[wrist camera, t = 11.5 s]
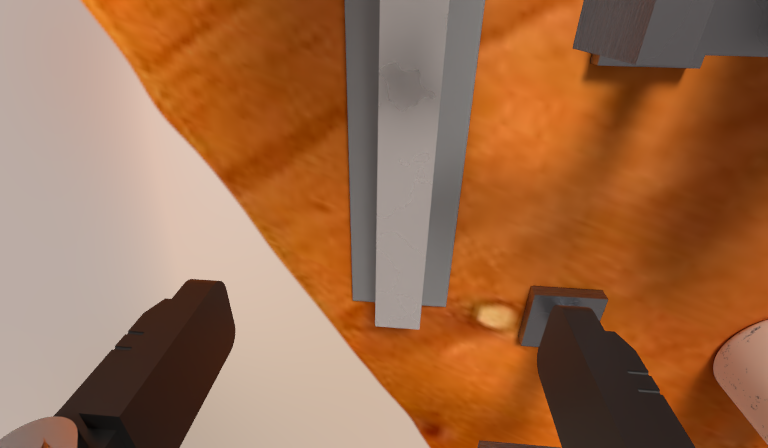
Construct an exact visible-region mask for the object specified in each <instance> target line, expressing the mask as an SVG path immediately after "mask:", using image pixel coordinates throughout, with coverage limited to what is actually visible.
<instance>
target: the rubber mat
mask: <svg viewBox="0 0 768 448" xmlns="http://www.w3.org/2000/svg"><path fill="white" fill-rule="evenodd" d="M484 5H485V0H450V1H449V12H448V22H447V33H446V44H445V55H444V66H443V77H442V88H441V99H440V110H439V120H438V131H437V142H436V153H435V164H434V175H433V186H432V197H431V208H430V218H429V229H428V240H427V251H426V262H425V273H424V284H423V295H422V305H426V306H441V307H446V302H447V294H448V286H449V278H450V270H451V263H452V255H453V247H454V239H455V231H456V224H457V216H458V208H459V200H460V192H461V185H462V177H463V169H464V161H465V153H466V146H467V138H468V130H469V122H470V114H471V107H472V99H473V91H474V83H475V75H476V68H477V60H478V52H479V44H480V36H481V29H482V21H483V13H484ZM379 27H380V0H345V34H346V70H347V106H348V143H349V179H350V215H351V251H352V288H353V301H367V302H375V300H376V231H377V163H378V95H379Z"/></svg>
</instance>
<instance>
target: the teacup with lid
mask: <svg viewBox="0 0 768 448" xmlns="http://www.w3.org/2000/svg"><path fill="white" fill-rule="evenodd" d="M713 372H714V376H715V378H716V380H717V382H718V383H719V385H720V386H721V387H722V388H723V390H724V391H725V392H726V393H727V395H728V396H729V397H730V398H731V400H732V401H733V402H734V403H735V405H736V406H737V407H738V408H739V410H740V411H741V412H742V413H743V415H744V416H745V417H746V418H747V420H748V421H749V422H750V423H751V425H752V426H753V427H754V428H755V430H756V431H757V432H758V433H759V435H760V436H761V437H762V438H763V440H764V441H765V442H766V443H767V445H768V320H765V321H762V322H759V323H757V324H754V325H752V326H750V327H748V328H746V329H744V330H742V331H741V332H739V333H737V334H736V335H735V336H733V337H732V338H731V339H729V340H728V341H727V342H726V343H725V344H724V345H723V346H722V348H721V349H720V350H719V352H718V353H717V355H716V357H715V360H714V364H713Z"/></svg>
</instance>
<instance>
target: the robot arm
mask: <svg viewBox="0 0 768 448" xmlns="http://www.w3.org/2000/svg"><path fill="white" fill-rule="evenodd" d="M234 339H235V324H234V320H233V316H232V311H231V307H230V303H229V299H228V295H227V290H226V287H225V284H224V283H223V282H222V281H211V280H196V279H190V280H188V281H186V282H185V284H184V285H183V286H182V287H181V288H180V290H179V291H178V292H177V293H176V294H175V296H174V297H173V298H172V299H164V300H162V301H161V302H159V303H158V304H157V305H155V306H154V307H152V308H151V309H149V310H148V311H146V312H145V313H143V315H142V316H141V317H140V318H139V319H138V320H137V321H136V323H135V324H134V325H133V326H132V327H131V329H130V330H129V331H128V334H127V335H125V336H123V338H122V339H121V340H120V341H119V342H118V343H117V344H116V346H115V349H114V350H111V351H110V352H109V354H108V355H107V356H106V357H105V358H104V360H103V361H102V362H101V363H100V364H99V365H98V366H97V367H96V369H95V370H94V371H93V372H92V373H91V374H90V375H89V377H88V378H87V379H86V380H85V381H84V382H83V384H82V385H81V386H80V387H79V388H78V389H77V390H76V392H75V393H74V394H73V395H72V396H71V397H70V398H69V400H68V401H67V402H66V403H65V404H64V405H63V406H62V408H61V409H60V410H59V411H58V412H57V413H56V414H55V415H54V416H53V417H46V418H42V419H38V420H35V421H32V422H30V423H27V424H25V425H23V426H21V427H19V428H17V429H15V430H14V431H12V432H11V433H9V434H7V435H6V436H4V437H3V438H2V439H0V448H179V447H180V445H181V444H182V442H183V440H184V438H185V436H186V434H187V432H188V431H189V429H190V426H191V425H192V423H193V421H194V419H195V417H196V415H197V414H198V412H199V410H200V408H201V406H202V404H203V402H204V400H205V398H206V397H207V395H208V393H209V391H210V389H211V387H212V385H213V383H214V381H215V380H216V378H217V376H218V374H219V372H220V370H221V368H222V366H223V364H224V363H225V361H226V359H227V357H228V355H229V353H230V351H231V349H232V346H233V343H234ZM537 367H538V373H539V377H540V380H541V383H542V386H543V389H544V393H545V396H546V399H547V402H548V405H549V408H550V411H551V414H552V417H553V420H554V424H555V427H556V430H557V433H558V436H559V439H560V442H561V445H562V448H695V446H694V445H693V443H692V441H691V440H690V438H689V437H688V435H687V433H686V432H685V430H684V428H683V427H682V425H681V424H680V422H679V420H678V419H677V417H676V416H675V414H674V412H673V411H672V409H671V407H670V406H669V404H668V403H667V401H666V399H665V398H664V396H663V395H660V392H659V391H660V390H659V388H658V386H657V385H656V383H655V382H654V380H653V378H652V377H651V376H649V375H648V370H647V369H646V367H645V365H644V364H643V362H642V361H641V359H640V357H639V356H638V354H637V353H636V351H635V350H634V349H633V348H632V347H631V346H630V345H629V344H628V343H626V342H625V341H624V340H623V339H622V338H621V337H620V336H619V335H618V334H617V333H615V332H611V331H605V330H604V329H603V327H602V325H601V323H600V321H599V320H598V318H597V316H596V314H595V313H594V311H593V310H592V309H591V308H589V307H578V306H563V305H555V306H554V307H553V308H552V309H551V312H550V315H549V318H548V321H547V324H546V327H545V330H544V333H543V336H542V339H541V342H540V346H539V349H538V354H537Z"/></svg>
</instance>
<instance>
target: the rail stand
mask: <svg viewBox="0 0 768 448" xmlns="http://www.w3.org/2000/svg"><path fill="white" fill-rule="evenodd" d="M573 49H577V50H581V51H585V52H589V53H592V56H591V60H590V63H591V64H594V65H599V66H633V67H667V68H700V67H701V64H702V62H703V59H704V57H705V55H717V56H753V57H768V0H584V2H583V6H582V11H581V15H580V19H579V23H578V27H577V32H576V36H575V40H574V44H573ZM607 302H608V298H607V297H606V295H605V294H604V292H603V290H589V289H574V288H558V287H542V286H531V289H530V293H529V297H528V300H527V304H526V308H525V312H524V316H523V319H522V323H521V327H520V331H519V335H518V337H519V340H520V344H521V346H533V347H539V346H540V342H541V339H542V336H543V333H544V330H545V327H546V324H547V321H548V318H549V315H550V312H551V309H552V308H553V307H554V306H555V305H563V306H578V307H589V308H591V309H592V310H593V311H594V313H595V314H596V316H597V318H598V320H599V321H600V319H601V317H602V314H603V312H604V309H605V307H606V304H607ZM478 448H559V447H548V446H536V445H525V444H514V443H502V442H491V441H480V440H479V444H478Z"/></svg>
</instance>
